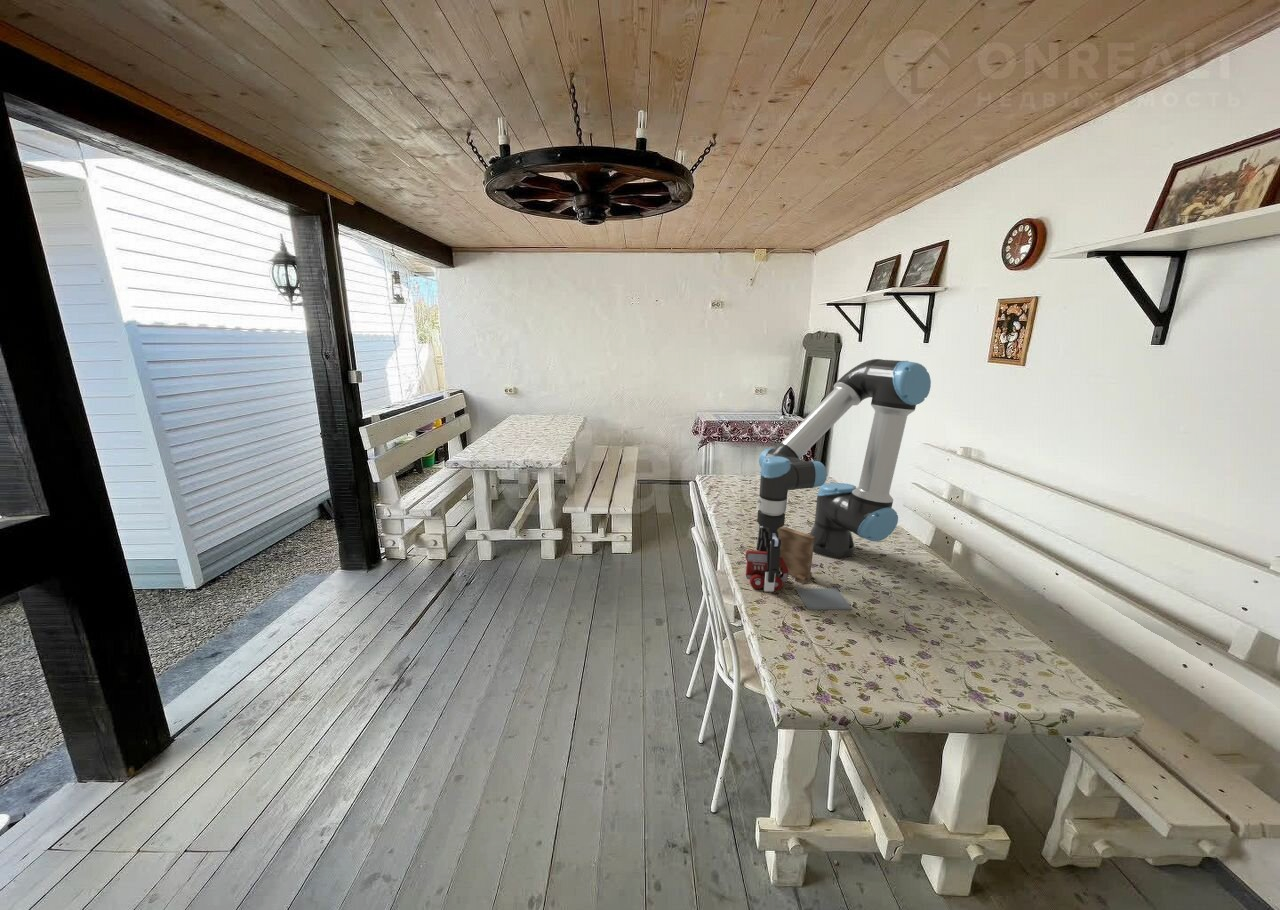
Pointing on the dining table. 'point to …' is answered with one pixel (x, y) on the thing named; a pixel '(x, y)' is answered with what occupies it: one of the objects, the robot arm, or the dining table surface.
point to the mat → (823, 599)
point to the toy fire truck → (757, 572)
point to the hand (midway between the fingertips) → (765, 583)
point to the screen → (796, 552)
